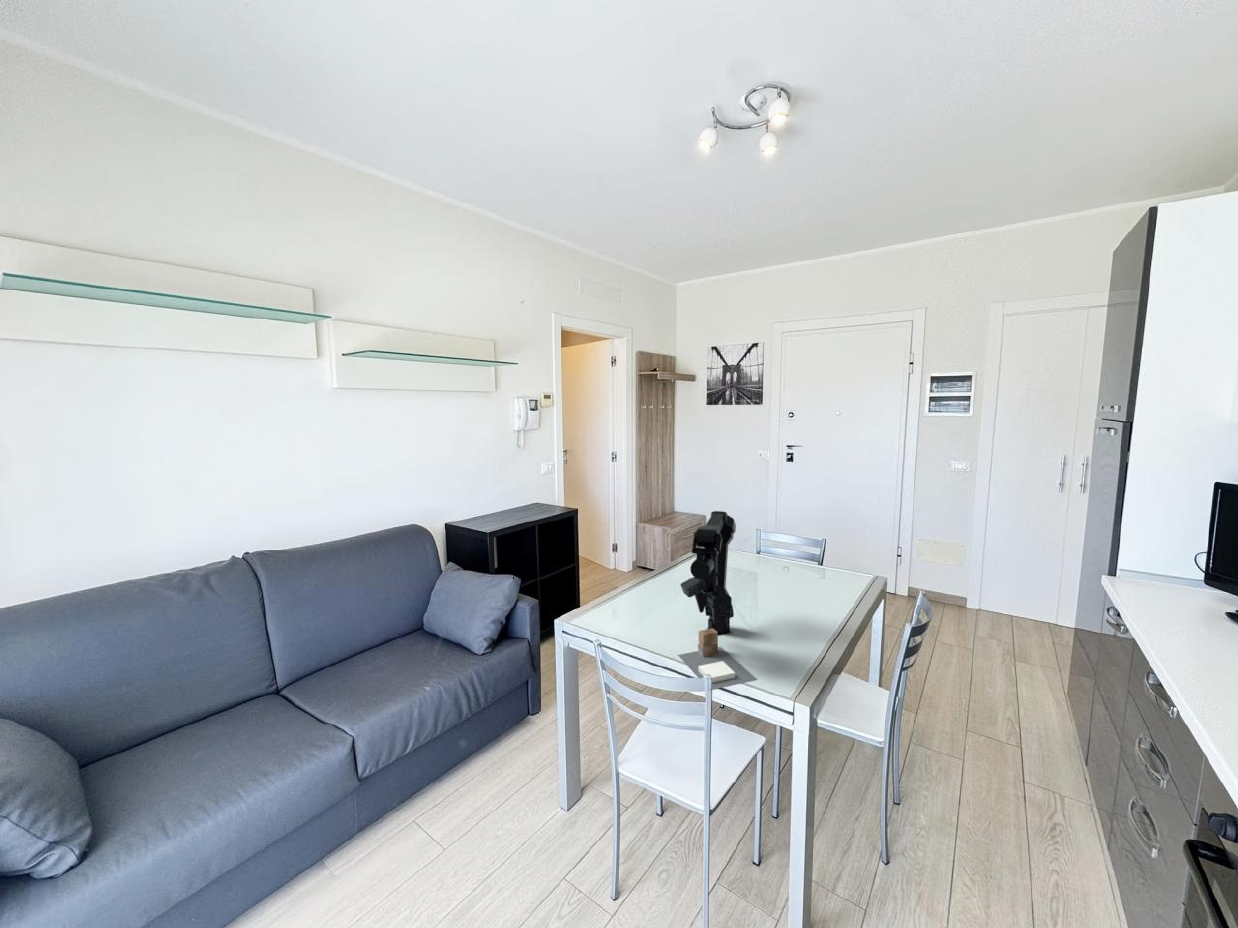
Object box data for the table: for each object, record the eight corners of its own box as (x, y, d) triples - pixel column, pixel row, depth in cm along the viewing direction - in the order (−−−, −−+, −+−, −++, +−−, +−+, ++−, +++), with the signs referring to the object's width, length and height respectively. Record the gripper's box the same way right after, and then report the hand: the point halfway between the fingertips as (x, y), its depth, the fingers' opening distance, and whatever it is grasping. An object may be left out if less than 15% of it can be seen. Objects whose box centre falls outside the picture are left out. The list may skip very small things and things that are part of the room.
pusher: (713, 649, 158) (712, 628, 157) (717, 653, 155) (717, 632, 154) (698, 652, 156) (697, 631, 155) (702, 656, 153) (702, 635, 153)
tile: (722, 661, 147) (698, 666, 145) (735, 672, 141) (709, 677, 138) (722, 665, 148) (698, 671, 145) (735, 677, 141) (709, 683, 139)
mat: (720, 647, 160) (720, 646, 160) (757, 680, 140) (757, 679, 140) (677, 656, 155) (677, 654, 155) (709, 691, 135) (709, 690, 135)
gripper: (671, 563, 159) (672, 610, 161) (697, 581, 141) (698, 634, 143) (702, 559, 163) (703, 605, 164) (732, 576, 145) (732, 628, 146)
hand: (708, 617), depth 154 cm, fingers open, 9 cm apart
